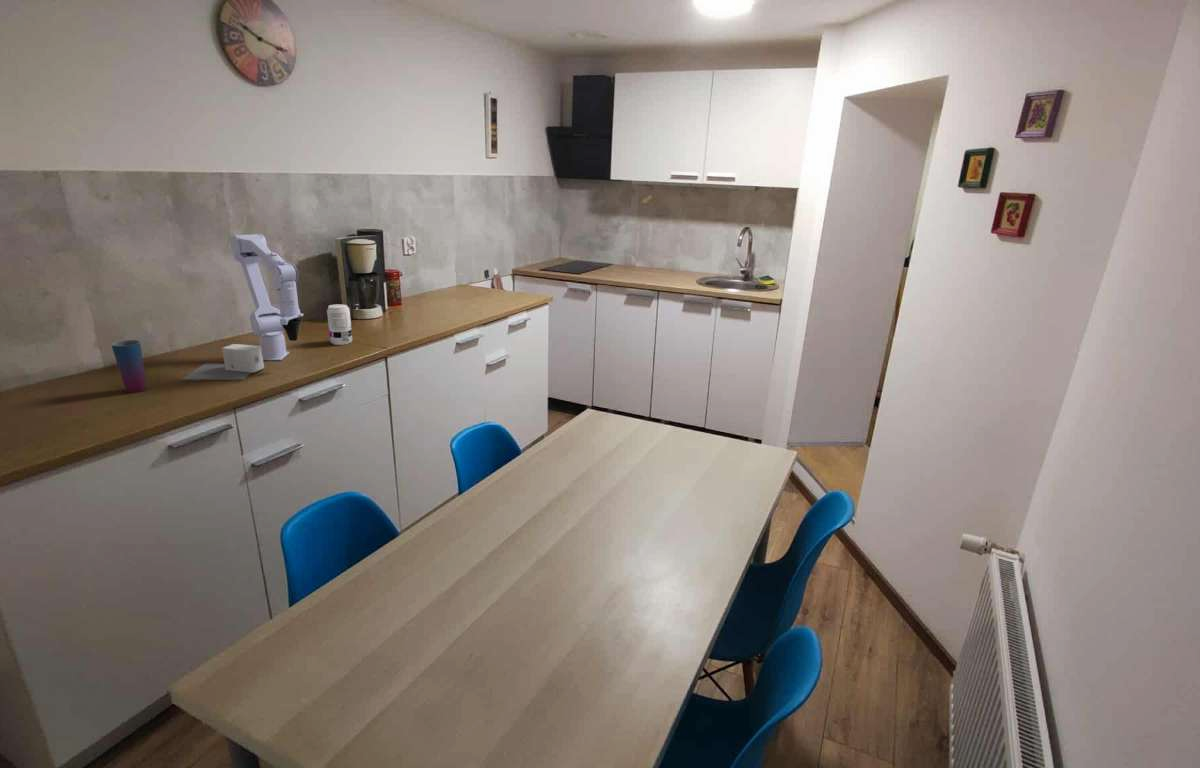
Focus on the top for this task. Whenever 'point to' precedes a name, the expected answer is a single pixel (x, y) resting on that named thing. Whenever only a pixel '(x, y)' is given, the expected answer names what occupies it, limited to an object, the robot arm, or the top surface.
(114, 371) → the top surface
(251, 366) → the small box
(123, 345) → the cup
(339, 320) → the supplement can
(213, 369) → the display mat
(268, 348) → the robot arm
